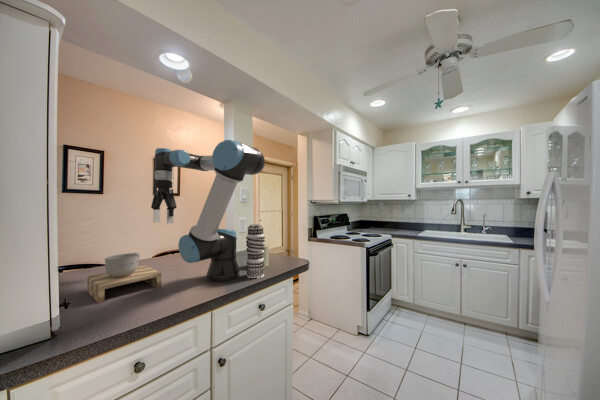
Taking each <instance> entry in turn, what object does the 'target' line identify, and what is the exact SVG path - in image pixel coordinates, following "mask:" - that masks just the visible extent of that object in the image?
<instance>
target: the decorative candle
mask: <svg viewBox="0 0 600 400" xmlns="http://www.w3.org/2000/svg"><path fill="white" fill-rule="evenodd" d="M246 235H247V236H246V237H245V239H246V241H245V242H246V243H245V244H246V245H245V246H246V247H247V248H246V253H247V258H246V276H247V277H248V278H247V277H246V278H247V279H250V278H257V279H261V278H260V277H262V278H264V276H265V268H263V266H264V264H263V263H264V261H263V260H264V258H263V252H264V250H263V249H264V247H263V246H264V245H266V244H264V243H265V242H266V240H265V239H266V237H265V236H264V235H265V234H264V227H263V225H262V224H260V223H258V224H249V226H248V227H247V234H246Z"/></svg>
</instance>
